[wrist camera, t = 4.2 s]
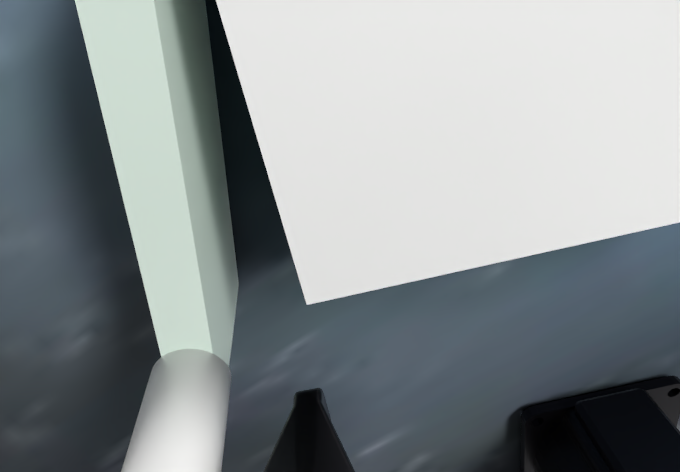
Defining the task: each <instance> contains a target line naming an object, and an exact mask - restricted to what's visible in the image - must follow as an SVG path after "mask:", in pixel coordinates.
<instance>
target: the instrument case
mask: <svg viewBox="0 0 680 472" xmlns="http://www.w3.org/2000/svg"><path fill="white" fill-rule="evenodd" d="M216 2H217V6H218V9H219V12H220V16H221V19H222V23H223V26H224V29H225V33H226V36H227V39H228V43H229V46H230V49H231V53H232V56H233V59H234V63H235V66H236V69H237V73H238V76H239V80H240V83H241V86H242V90H243V93H244V96H245V100H246V103H247V106H248V110H249V113H250V116H251V120H252V123H253V126H254V130H255V133H256V137H257V140H258V143H259V147H260V150H261V153H262V157H263V160H264V163H265V167H266V170H267V173H268V177H269V180H270V183H271V187H272V190H273V194H274V197H275V200H276V204H277V207H278V210H279V214H280V217H281V220H282V224H283V227H284V230H285V234H286V237H287V240H288V244H289V247H290V251H291V254H292V257H293V261H294V264H295V267H296V271H297V274H298V277H299V281H300V284H301V287H302V291H303V294H304V297H305V301H306V304H307V305H309V304H314V303H318V302H323V301H327V300H332V299H336V298H341V297H345V296H350V295H354V294H359V293H363V292H368V291H372V290H377V289H381V288H386V287H390V286H395V285H399V284H404V283H408V282H413V281H417V280H422V279H426V278H431V277H435V276H440V275H444V274H449V273H453V272H458V271H462V270H467V269H471V268H476V267H480V266H485V265H489V264H494V263H498V262H503V261H507V260H512V259H517V258H521V257H526V256H530V255H535V254H539V253H544V252H548V251H553V250H557V249H562V248H566V247H571V246H575V245H580V244H584V243H589V242H593V241H598V240H602V239H607V238H611V237H616V236H620V235H625V234H629V233H634V232H638V231H643V230H647V229H652V228H656V227H661V226H665V225H670V224H674V223H679V222H680V0H216Z"/></svg>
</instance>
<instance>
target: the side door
mask: <svg viewBox="0 0 680 472" xmlns="http://www.w3.org/2000/svg"><path fill="white" fill-rule="evenodd" d="M75 3H76V7H77V12H78V16H79V20H80V24H81V28H82V32H83V36H84V40H85V45H86V49H87V53H88V57H89V61H90V65H91V69H92V73H93V78H94V82H95V86H96V90H97V94H98V98H99V102H100V106H101V111H102V115H103V119H104V123H105V127H106V131H107V135H108V139H109V144H110V148H111V152H112V156H113V160H114V164H115V168H116V172H117V177H118V181H119V185H120V189H121V193H122V197H123V201H124V205H125V210H126V214H127V218H128V222H129V226H130V230H131V234H132V238H133V243H134V247H135V251H136V255H137V259H138V263H139V267H140V271H141V276H142V280H143V284H144V288H145V292H146V296H147V300H148V304H149V309H150V313H151V317H152V321H153V325H154V329H155V333H156V337H157V342H158V346H159V350H160V354H161V358H160V359H158V360H157V362H156V363H155V364H154V366H153V368H152V371H151V374H150V377H149V381H148V384H147V387H146V390H145V394H144V397H143V400H142V404H141V407H140V410H139V414H138V417H137V420H136V424H135V427H134V430H133V434H132V437H131V440H130V444H129V447H128V450H127V454H126V457H125V460H124V464H123V467H122V470H121V472H221V470H222V461H223V452H224V443H225V434H226V425H227V416H228V407H229V398H230V389H231V380H232V376H231V371H230V369H229V362H230V354H231V346H232V337H233V329H234V321H235V312H236V304H237V296H238V287H239V281H238V273H237V264H236V256H235V247H234V239H233V231H232V222H231V214H230V205H229V197H228V188H227V180H226V171H225V163H224V154H223V146H222V138H221V129H220V121H219V112H218V104H217V95H216V87H215V78H214V70H213V61H212V53H211V45H210V36H209V28H208V19H207V11H206V2H205V0H75Z"/></svg>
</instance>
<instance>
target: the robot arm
mask: <svg viewBox="0 0 680 472" xmlns="http://www.w3.org/2000/svg"><path fill="white" fill-rule="evenodd" d="M679 415H680V379H679V378H678V377H676V376H668V377H663V378H658V379H654V380H649V381H645V382H640V383H636V384H631V385H626V386H622V387H617V388H613V389H608V390H604V391H599V392H594V393H590V394H585V395H581V396H576V397H572V398H567V399H562V400H558V401H553V402H549V403H544V404H540V405H535V406H531V407H529V408H527V409H525V410H524V411H523V412H522V414H521V459H520V472H680V431H679V430H678V429H677V428H676V426H677V422H678V419H679ZM264 472H355V471H354V469H353V467H352V464H351V462H350V460H349V458H348V456H347V454H346V452H345V450H344V448H343V445H342V443H341V441H340V439H339V437H338V435H337V433H336V431H335V429H334V426H333V424H332V422H331V418H330V414H329V411H328V407H327V404H326V400H325V397H324V393H323V391H322V389H320V388H315V389H310V390H304V391H299V392H296V393H295V396H294V405H293V408H292V410H291V413H290V415H289V417H288V419H287V421H286V423H285V426H284V428H283V430H282V432H281V434H280V437H279V439H278V441H277V443H276V445H275V447H274V450H273V452H272V454H271V456H270V458H269V461H268V463H267V465H266V467H265V469H264Z"/></svg>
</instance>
